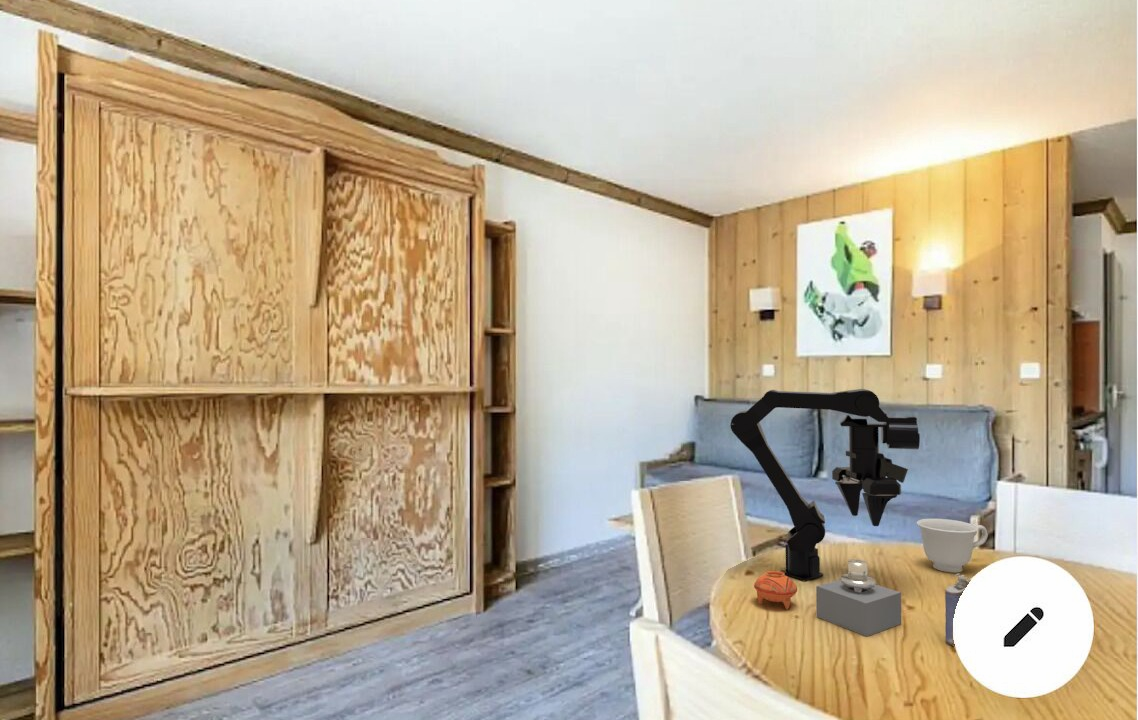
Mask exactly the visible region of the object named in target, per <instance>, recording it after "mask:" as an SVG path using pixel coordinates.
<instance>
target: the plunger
mask: <svg viewBox="0 0 1138 720" xmlns="http://www.w3.org/2000/svg"><path fill="white" fill-rule="evenodd" d="M840 579H841V582H842V583H843V584H845V585H847V586H850V587H854V591H856V592H859V593H861V592H862V588H873V587H875V584H876V579H875V578H873V577H871V576H868V561H865V560H863V559H854V558H853V559H848V560H847V573H845V574H841V576H840Z"/></svg>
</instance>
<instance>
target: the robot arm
mask: <svg viewBox="0 0 1138 720" xmlns="http://www.w3.org/2000/svg"><path fill="white" fill-rule="evenodd" d="M776 408H777V409H778V408H785V409H786V408H787V409H802V410H803V409H809V410H828V411H829V410H831V411H836V412H839V413H844V414H846V416H845V417H844V419H843V420H841V421H839V425H840V426H841V427H848V437H849V439H848V440H849V442H848V444H849V445H848V446H849V447H848V448H849V449H848V450H845V457H848V458H849V466H842V467H841V466H836V467H835V468H834V469H833V470H832V471H831V473H832V475H831V477H832V479H831V480H834V482H835V485H836V486H837V488H838V489H839V492H840V494H841V495H842V497H843V499H844V501H845V503H846V506H847V507H848V510H849V512H850V514H851V515H852V516H854V517H857V516H858V515H859V509H860V499H861V494H862V497H863V500H864V504H865V506H866V510H867V513H868V516H869V520H870V522H871V525H872V526H873V527H878V526H879V525H880V524H881V523H880V522H881V520H882V517H883V515H884V511H885V509H886V506H887V503H889V502H890V501H891V500H892V499H896V498H897V497H898V496H901V494H902V485H901V483H902V484H904V482H905V480H906V477H907V474H908V470H909V469H908V468H906V467H903V466H901V465H897V464H894V463H893V460H892V459H891V458H888V457H886V456H885V455H884V454H883V453H882V452H880V451H879V450H880V445H879V443H880V442H879V440H880V441H881V443H882V444H886V446H887V449H893V450H894V449H895V450H897V449H898V450H919V448H920V442H921V440H920V439H921V437H920V436H921V435H920V433H919V426H918V420H917V419H918V418H917V417H916V416H904V417H901V416H891V417H890V416H888V415H887V413H886V412H884V411H883V409H882V408H881V407H880V399H879V397H878V395H876V394H875V392H874V391H871V390H869V389H867V388H866V389H865V388H857V389H850V390H848V389H847V390H842V391H837V392H815V391H814V392H811V391H787V390H786V391H785V390H783V391H781V390H776V389H771V390H768V391H767V392H765V393H764V395H763V396H762V397H761V398H760V399H759V400H758V401H757V402H756V403H754V405H752V406H751V407H750V408H749V409H747V410H743V411H739V412H738V413H736V414H735V415H733V416H732V418H731V421H730V430H731V432H732V433H733V434H734V436H736V438H737V439H738V441H740V442H741V443H742V445H744V446H745V447H746V449H748V450H749V451H750V452H751V453H752V454H753V456H754V457H755V459H756V460H757V462H758V463H759V465H760V467H761V468H762V469H763V472H764V473H765V475H766V476H767V478H768V479H769V481H770V483H771V484H772V485H773V487H774V489H775V490H776V492H777V494H778V495H779V497H780V498H781V500H782V502H783V503H784V504H785V506H786V507H787V511H788V513H789V516H790V519H791V522H792V524H793V527H792V528H790V530H788V531H787V539H786V544H785V547H784V548H785V569H781V570H780V572H783V573H785V576H788V577H789V576H790V577H791V578H795V579H798V580H800V581H809V580H812V579H816V578H820V577H823V576H824V573H822V572H821V571H820V568H821V567H820V560H821V558H820V556H819V549H818V548H816V545H817V544H819V543H821V542H822V541H823V540H824V538H825V537H826V526H825V524H826V519H825V515H824V514H823V513H821V511H820V510H819V509H818V507H817V504H816V502H815V500H812V501H811V502H810V503H809V502H807V501H806V499H804V497H803V496H802V495H801V494H800V492H799V491H798V489H797V487H796V486H795V483H793V481H792V480H791V478H790V476H789V475H788V474H787V472H786V470H785V468H784V467H783V465H782V463H781V462H780V461H779V459H778V458H777V456H776V455H775V453H774V451H773V449H771V447H770V445H769V443H768V441H767V438H766V435H765V434H764V430H763V428H762V425H761V423H760V422H761V421H763V419H765V418H766V416H768V415H769V414H770V413H771V412H772V411H773V410H775V409H776ZM850 415H854V416H857V417H861V418H852V417H851V416H850ZM862 417H863V418H862ZM864 417H865V418H864ZM866 417H870V418H872V419H873V420H875V421H876V422H878V423H872V422H871V423H870V422H869V423H868V419H867V418H866ZM879 428H880V436H881V439H879ZM862 490H863V492H862ZM861 492H862V493H861Z"/></svg>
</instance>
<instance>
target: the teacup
mask: <svg viewBox="0 0 1138 720" xmlns="http://www.w3.org/2000/svg"><path fill="white" fill-rule="evenodd" d="M916 524H917V525H918V526H919V529H920V533H921V539H922V540H921V541H922V547H923V551H924V554H925V556H926V557H927V559H929V560H930V561H931V562H932V563H933V564H932V567H933V568H934V569H935V570H937V571H941V572H945V573H955V574H958V573H961V572H963V566H966V565H967V564H968V563H970V562H971V558H972V555H973V550H974V549H975V548H977V547H980V546H982V545H984V544H985V542H986V541H987V539H988V535H989V534H988V530H987V528H986V527H985V526H984V525H981V524H972V523H969V522H966V521H960V520H956V519H955V520H954V519H945V518H923V519H918V520H917V521H916ZM978 531H981V536H980V538H979V539H977V540H976V541H975V536H977V533H978Z"/></svg>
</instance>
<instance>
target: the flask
mask: <svg viewBox="0 0 1138 720" xmlns="http://www.w3.org/2000/svg"><path fill="white" fill-rule="evenodd" d="M956 577H957V580H956V583H954V584H952V585H949V586H948V587H946V589H945V590H944V598H945V599H944V600H945V613H944V614H945V626H944V627H945V644H946V645H947V646H953V647H954V648H956V647H955V644H954V640H953V618H954V614H955V609H956V606H957V603H958V601H959V598H960V596H961V595H962V593H963V591H964V590H965V588H966V587H967V585H968V584H969V582H970V581H971V579H969V577H967V576H966V575H964V574H961V573H955V575H954V578H956Z"/></svg>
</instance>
